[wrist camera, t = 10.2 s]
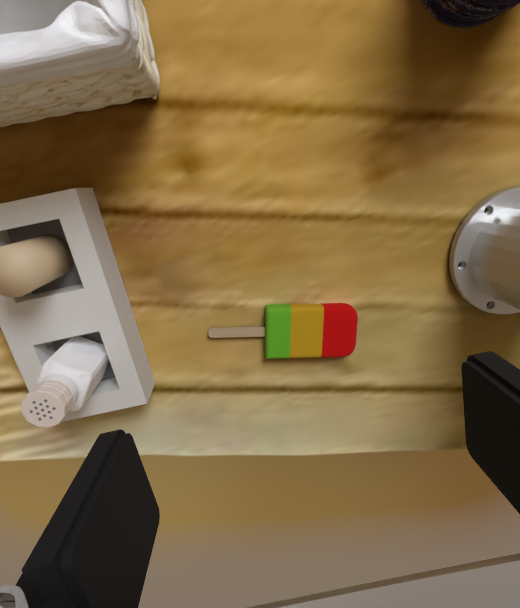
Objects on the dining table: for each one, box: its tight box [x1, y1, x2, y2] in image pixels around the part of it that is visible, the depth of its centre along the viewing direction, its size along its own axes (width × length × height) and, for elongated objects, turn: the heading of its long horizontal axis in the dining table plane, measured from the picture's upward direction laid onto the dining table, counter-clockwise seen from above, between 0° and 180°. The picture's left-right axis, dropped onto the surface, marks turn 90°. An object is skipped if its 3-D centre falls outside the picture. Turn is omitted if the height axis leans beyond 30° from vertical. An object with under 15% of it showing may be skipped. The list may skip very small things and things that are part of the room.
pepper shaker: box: [21, 336, 109, 428], centre depth 33 cm, size 4×4×10 cm
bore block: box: [0, 188, 155, 422], centre depth 33 cm, size 10×20×8 cm, turn 11°
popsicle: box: [208, 303, 357, 359], centre depth 39 cm, size 6×15×2 cm, turn 90°
